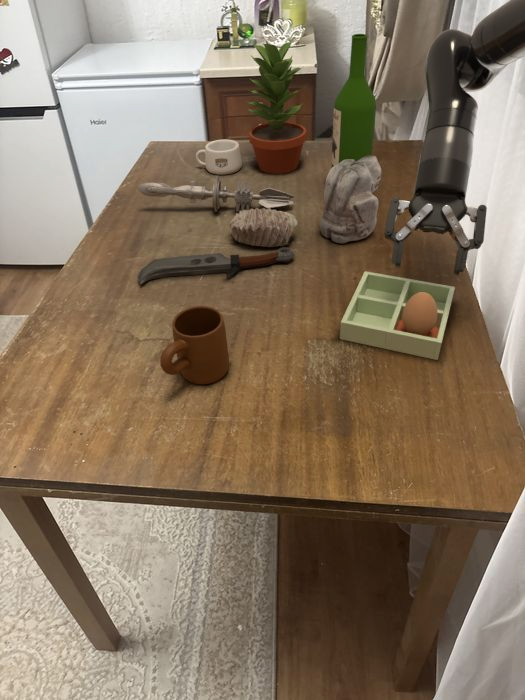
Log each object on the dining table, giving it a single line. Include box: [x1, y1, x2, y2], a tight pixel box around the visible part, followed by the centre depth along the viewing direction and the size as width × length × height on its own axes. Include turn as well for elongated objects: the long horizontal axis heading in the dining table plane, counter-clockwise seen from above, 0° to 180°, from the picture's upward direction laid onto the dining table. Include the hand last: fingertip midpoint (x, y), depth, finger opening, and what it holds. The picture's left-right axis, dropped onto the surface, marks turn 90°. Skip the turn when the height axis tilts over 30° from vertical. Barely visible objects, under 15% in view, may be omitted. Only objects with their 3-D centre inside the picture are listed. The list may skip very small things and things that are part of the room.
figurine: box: [319, 154, 382, 244], centre depth 108 cm, size 10×11×15 cm
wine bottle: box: [331, 33, 377, 168], centre depth 117 cm, size 9×9×32 cm
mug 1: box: [159, 305, 230, 385], centre depth 78 cm, size 12×8×9 cm, turn 147°
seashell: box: [229, 207, 299, 248], centre depth 109 cm, size 14×9×10 cm
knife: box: [137, 246, 295, 285], centre depth 103 cm, size 9×2×30 cm
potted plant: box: [246, 37, 307, 175], centre depth 131 cm, size 15×15×30 cm
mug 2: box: [195, 138, 243, 176], centre depth 139 cm, size 12×10×6 cm
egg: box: [402, 292, 438, 336], centre depth 83 cm, size 5×5×8 cm
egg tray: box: [339, 270, 456, 361], centre depth 88 cm, size 15×15×4 cm
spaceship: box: [137, 175, 295, 213], centre depth 120 cm, size 8×35×8 cm
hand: (426, 270), depth 81 cm, fingers open, 8 cm apart
